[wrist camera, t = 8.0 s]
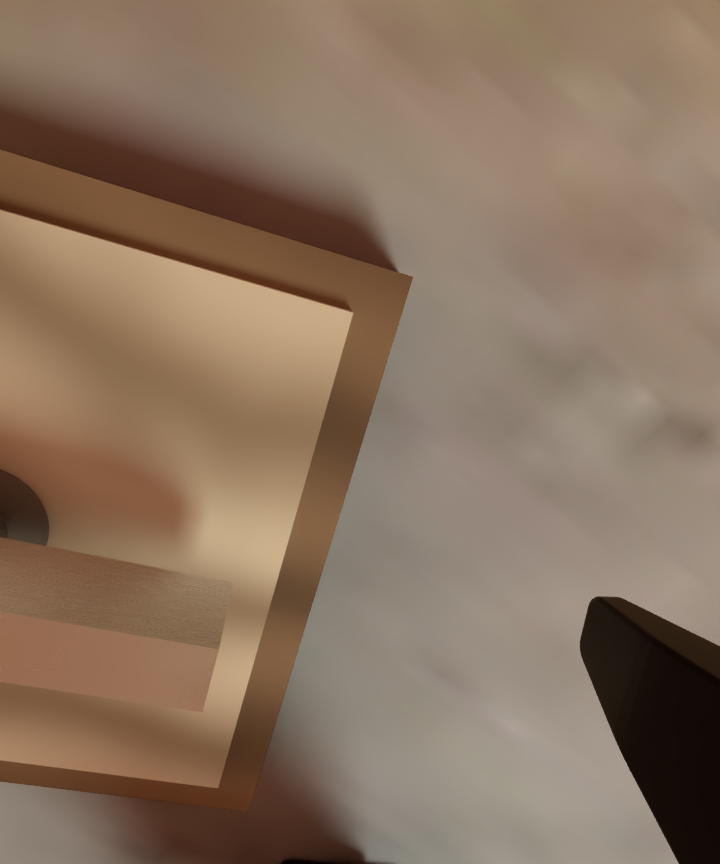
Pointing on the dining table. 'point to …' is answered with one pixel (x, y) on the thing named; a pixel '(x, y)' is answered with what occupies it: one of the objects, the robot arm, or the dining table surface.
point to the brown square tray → (176, 452)
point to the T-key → (107, 626)
